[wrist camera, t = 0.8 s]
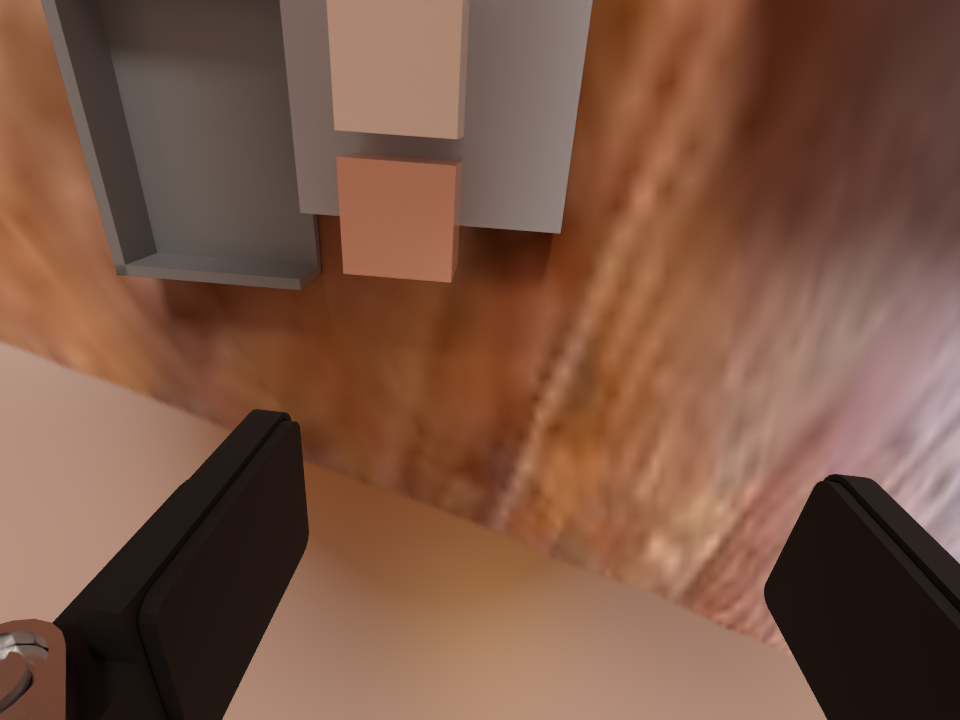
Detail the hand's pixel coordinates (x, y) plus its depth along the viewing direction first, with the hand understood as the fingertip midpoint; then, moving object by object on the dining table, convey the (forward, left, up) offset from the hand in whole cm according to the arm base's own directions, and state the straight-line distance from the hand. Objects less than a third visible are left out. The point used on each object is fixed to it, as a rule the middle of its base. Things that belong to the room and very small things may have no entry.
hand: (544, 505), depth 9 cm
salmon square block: (-2, -6, -18) cm, 19 cm away
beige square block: (-8, -6, -18) cm, 20 cm away
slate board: (-8, -5, -21) cm, 22 cm away
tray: (-5, -17, -21) cm, 27 cm away
